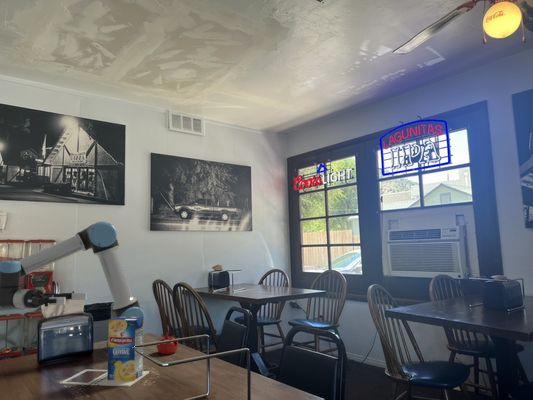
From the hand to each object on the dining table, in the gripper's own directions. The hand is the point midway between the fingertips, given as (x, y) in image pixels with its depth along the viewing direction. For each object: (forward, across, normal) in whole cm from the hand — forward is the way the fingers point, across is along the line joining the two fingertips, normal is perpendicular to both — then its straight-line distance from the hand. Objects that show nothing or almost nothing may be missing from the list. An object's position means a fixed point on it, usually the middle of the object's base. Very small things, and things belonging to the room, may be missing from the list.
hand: (76, 298), depth 159 cm
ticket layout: (+15, +1, -30) cm, 33 cm away
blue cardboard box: (+23, +1, -30) cm, 37 cm away
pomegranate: (+24, -36, -30) cm, 53 cm away
